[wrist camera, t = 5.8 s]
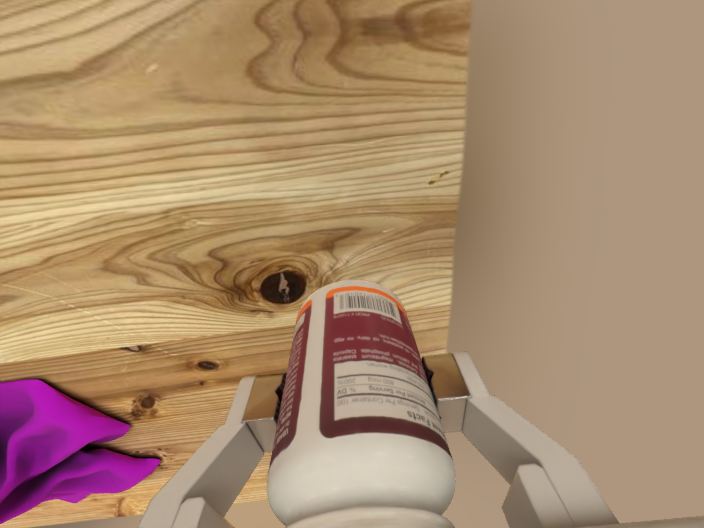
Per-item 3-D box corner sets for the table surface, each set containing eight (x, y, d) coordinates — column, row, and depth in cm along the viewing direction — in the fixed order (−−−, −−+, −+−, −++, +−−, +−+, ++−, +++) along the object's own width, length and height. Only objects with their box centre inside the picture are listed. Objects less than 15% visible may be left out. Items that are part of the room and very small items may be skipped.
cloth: (-181, 379, 20) (-365, 480, 15) (82, 359, 20) (-6, 451, 15) (23, 505, 32) (-40, 587, 26) (188, 491, 32) (159, 569, 27)
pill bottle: (340, 370, 14) (341, 666, 7) (273, 312, 12) (171, 657, 5) (425, 328, 13) (540, 640, 5) (368, 254, 10) (432, 609, 3)
